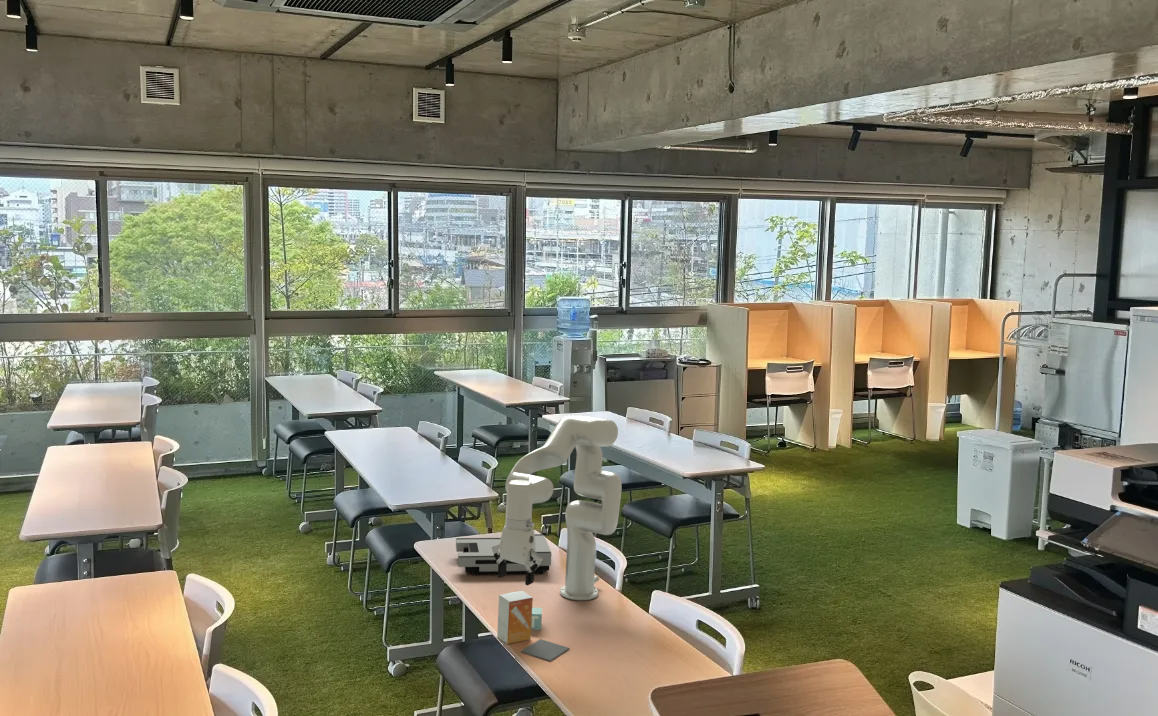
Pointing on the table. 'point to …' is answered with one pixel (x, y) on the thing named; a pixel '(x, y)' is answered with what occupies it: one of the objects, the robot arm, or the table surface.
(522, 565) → the gray flat machine
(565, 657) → the table surface
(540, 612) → the letter cube
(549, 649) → the pad
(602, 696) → the table surface
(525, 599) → the small box
